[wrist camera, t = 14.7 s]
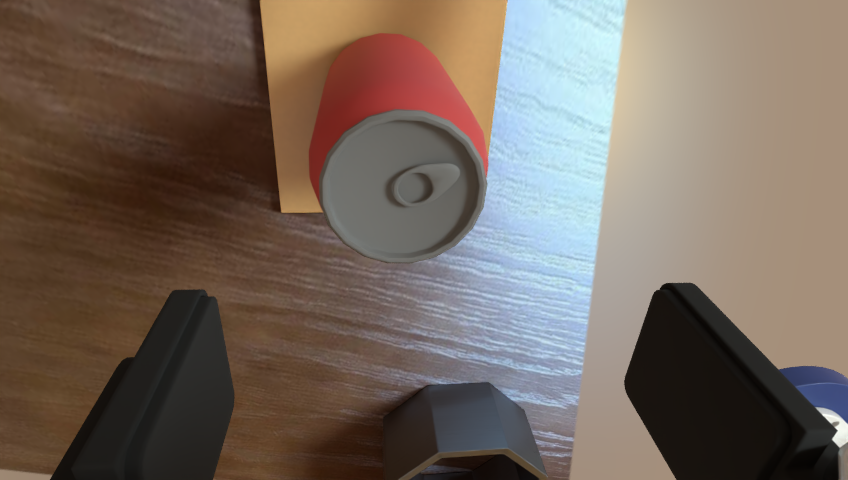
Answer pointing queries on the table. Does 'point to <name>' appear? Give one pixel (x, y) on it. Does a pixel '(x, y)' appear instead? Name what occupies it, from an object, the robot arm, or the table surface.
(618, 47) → the table surface
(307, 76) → the cork mat
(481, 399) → the black octagonal pot
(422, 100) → the beer can
